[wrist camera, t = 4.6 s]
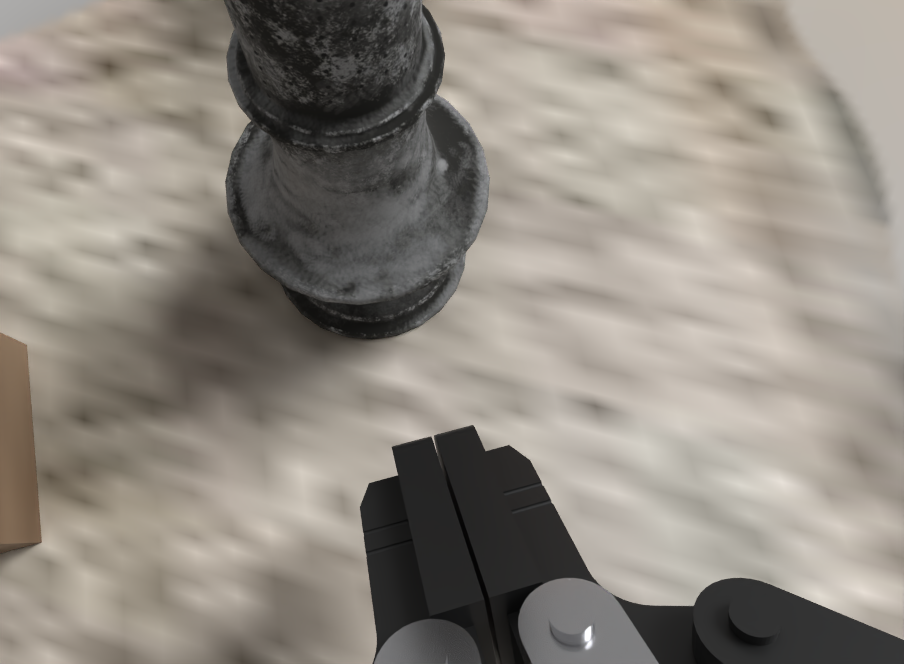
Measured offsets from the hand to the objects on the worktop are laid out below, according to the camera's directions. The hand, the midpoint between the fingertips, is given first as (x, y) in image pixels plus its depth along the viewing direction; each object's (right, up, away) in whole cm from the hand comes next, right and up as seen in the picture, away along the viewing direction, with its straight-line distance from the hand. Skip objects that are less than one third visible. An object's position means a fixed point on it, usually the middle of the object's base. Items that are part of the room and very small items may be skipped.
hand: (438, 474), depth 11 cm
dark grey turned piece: (-2, +5, +6) cm, 8 cm away
